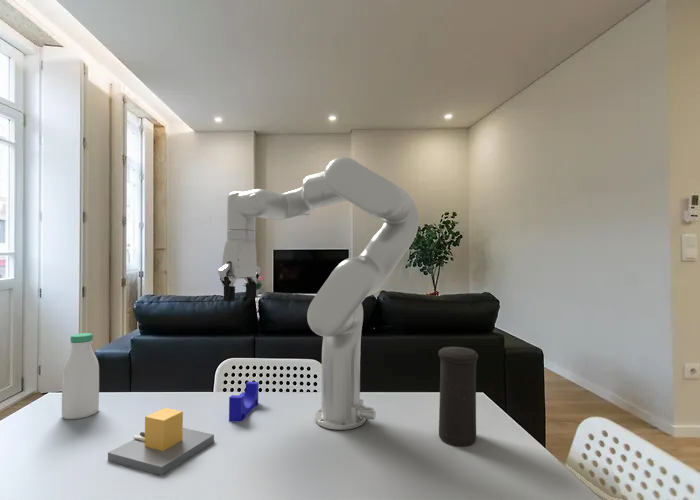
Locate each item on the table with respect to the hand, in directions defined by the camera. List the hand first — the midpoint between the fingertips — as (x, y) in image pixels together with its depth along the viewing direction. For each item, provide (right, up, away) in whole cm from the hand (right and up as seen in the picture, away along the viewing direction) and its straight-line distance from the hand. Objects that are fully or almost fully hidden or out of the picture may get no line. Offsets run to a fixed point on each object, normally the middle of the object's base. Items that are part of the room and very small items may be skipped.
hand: (240, 299), depth 108 cm
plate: (-8, -28, -27) cm, 40 cm away
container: (+54, -29, -20) cm, 65 cm away
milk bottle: (-38, -28, -9) cm, 48 cm away
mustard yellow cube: (-8, -26, -27) cm, 38 cm away
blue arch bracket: (+2, -29, -7) cm, 29 cm away
